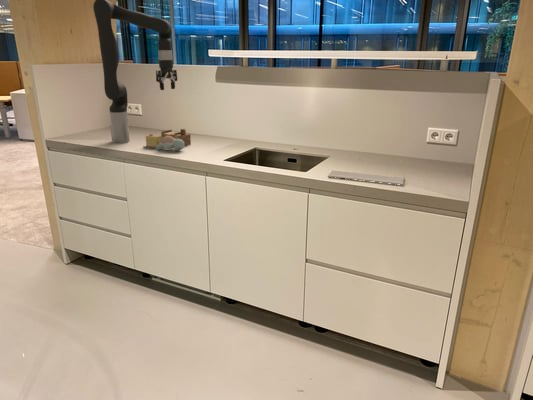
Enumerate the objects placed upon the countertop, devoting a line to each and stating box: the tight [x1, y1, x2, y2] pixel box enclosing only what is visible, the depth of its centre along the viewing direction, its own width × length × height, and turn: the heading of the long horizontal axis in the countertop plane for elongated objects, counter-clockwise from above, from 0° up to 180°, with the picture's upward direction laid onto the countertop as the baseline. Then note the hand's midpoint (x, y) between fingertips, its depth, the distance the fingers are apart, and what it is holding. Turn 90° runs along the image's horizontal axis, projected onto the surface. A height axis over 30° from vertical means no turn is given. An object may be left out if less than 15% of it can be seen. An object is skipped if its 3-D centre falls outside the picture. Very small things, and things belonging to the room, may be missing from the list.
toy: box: [155, 136, 186, 152], centre depth 218 cm, size 12×10×15 cm
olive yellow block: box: [145, 133, 163, 148], centre depth 224 cm, size 8×5×7 cm, turn 60°
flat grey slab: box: [327, 169, 405, 186], centre depth 175 cm, size 31×3×12 cm
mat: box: [143, 145, 156, 150], centre depth 226 cm, size 10×8×1 cm
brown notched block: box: [160, 128, 192, 147], centre depth 233 cm, size 15×8×9 cm, turn 60°
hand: (167, 89), depth 230 cm, fingers open, 8 cm apart
